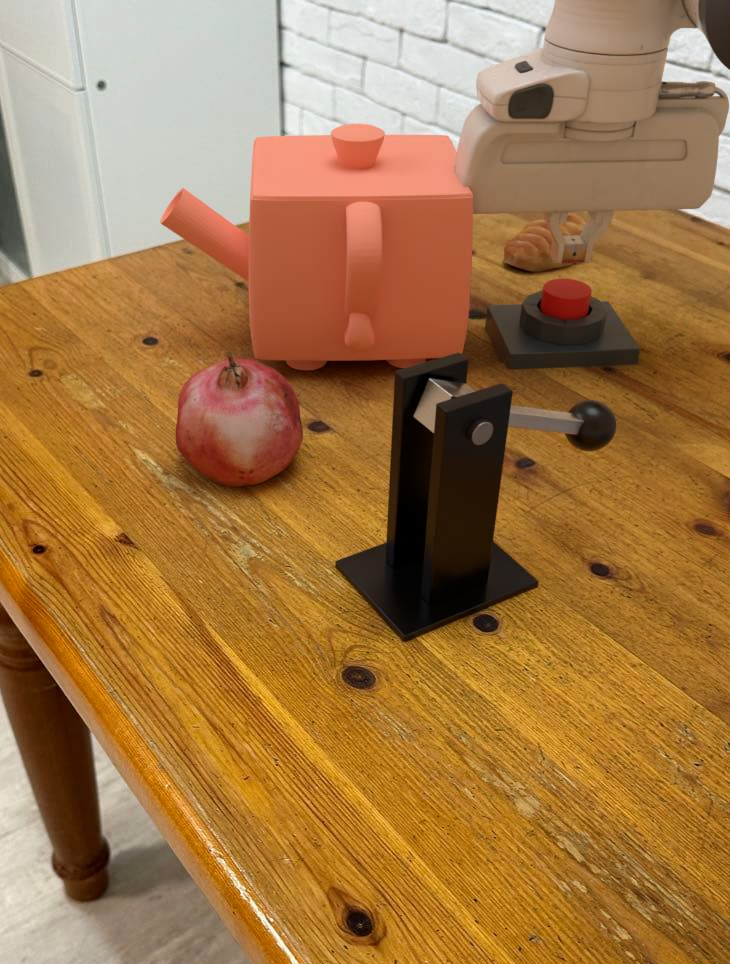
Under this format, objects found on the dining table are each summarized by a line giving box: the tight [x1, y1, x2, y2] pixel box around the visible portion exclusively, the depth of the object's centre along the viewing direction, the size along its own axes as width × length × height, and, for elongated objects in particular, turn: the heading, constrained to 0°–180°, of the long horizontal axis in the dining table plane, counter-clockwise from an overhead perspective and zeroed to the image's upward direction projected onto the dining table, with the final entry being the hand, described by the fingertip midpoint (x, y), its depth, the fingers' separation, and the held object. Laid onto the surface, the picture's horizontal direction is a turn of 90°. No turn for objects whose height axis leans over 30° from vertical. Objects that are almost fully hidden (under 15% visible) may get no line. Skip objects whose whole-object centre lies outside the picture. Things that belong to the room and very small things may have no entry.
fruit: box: [175, 351, 304, 488], centre depth 73 cm, size 9×10×10 cm
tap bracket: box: [334, 353, 539, 643], centre depth 62 cm, size 10×8×15 cm
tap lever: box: [414, 378, 617, 452], centre depth 62 cm, size 15×3×3 cm, turn 120°
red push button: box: [540, 278, 593, 320], centre depth 88 cm, size 4×4×2 cm
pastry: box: [503, 212, 587, 273], centre depth 105 cm, size 9×7×4 cm
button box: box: [484, 289, 641, 371], centre depth 90 cm, size 11×9×4 cm
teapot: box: [159, 123, 474, 371], centre depth 87 cm, size 25×23×18 cm
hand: (569, 260), depth 86 cm, fingers closed
